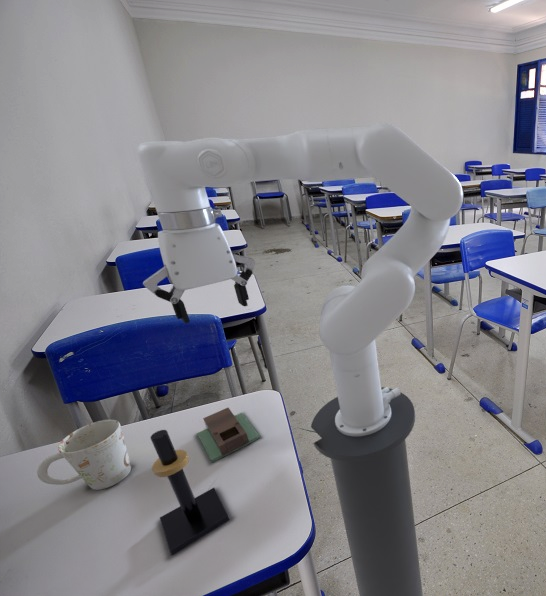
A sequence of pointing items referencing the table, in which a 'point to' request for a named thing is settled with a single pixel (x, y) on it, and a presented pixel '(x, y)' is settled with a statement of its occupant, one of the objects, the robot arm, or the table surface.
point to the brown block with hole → (226, 431)
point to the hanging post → (184, 498)
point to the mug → (92, 456)
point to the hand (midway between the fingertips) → (215, 312)
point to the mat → (211, 445)
